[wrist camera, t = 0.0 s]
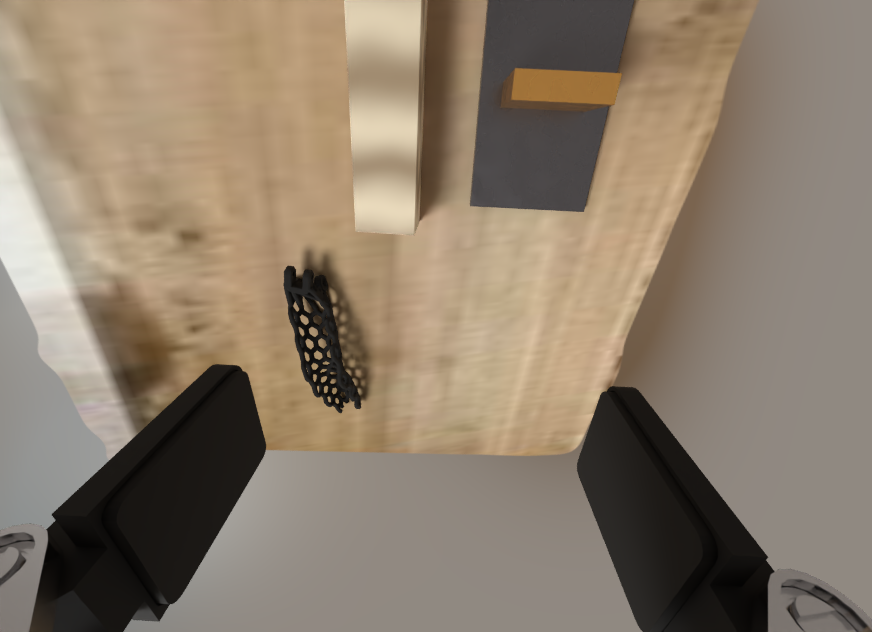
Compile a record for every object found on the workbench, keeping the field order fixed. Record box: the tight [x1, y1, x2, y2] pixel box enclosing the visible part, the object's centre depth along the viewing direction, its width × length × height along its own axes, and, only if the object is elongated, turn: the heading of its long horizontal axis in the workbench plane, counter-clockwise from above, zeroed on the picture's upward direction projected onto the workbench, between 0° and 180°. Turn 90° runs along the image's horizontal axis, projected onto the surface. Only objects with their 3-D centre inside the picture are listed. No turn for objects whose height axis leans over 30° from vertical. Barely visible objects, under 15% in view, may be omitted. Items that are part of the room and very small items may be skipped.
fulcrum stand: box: [470, 0, 634, 212], centre depth 29 cm, size 20×12×7 cm, turn 177°
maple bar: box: [344, 0, 428, 235], centre depth 29 cm, size 24×6×7 cm, turn 176°
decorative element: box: [284, 266, 361, 413], centre depth 42 cm, size 22×5×6 cm, turn 9°
